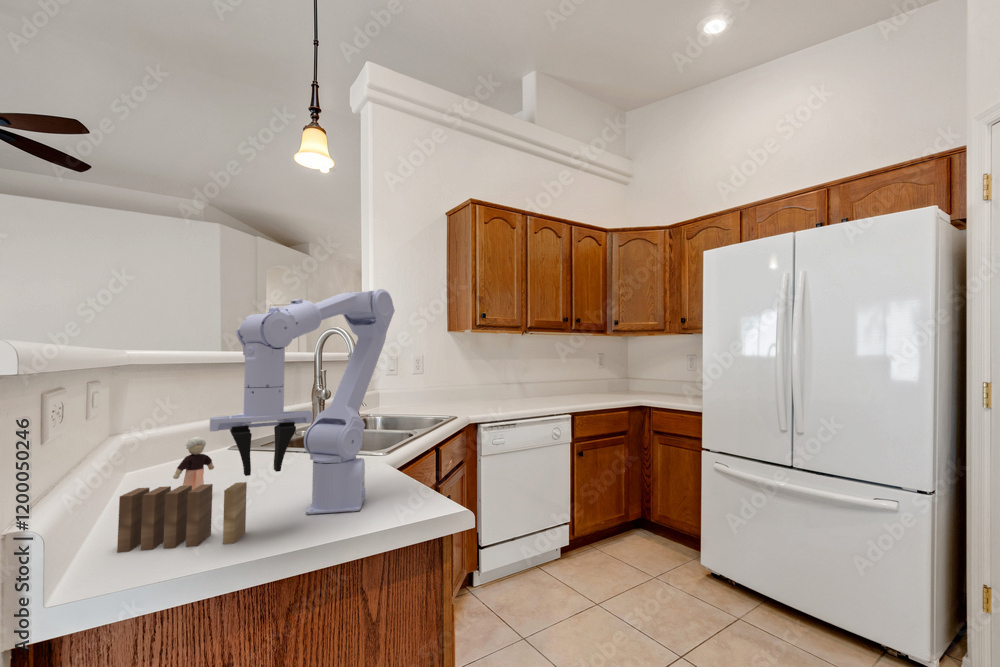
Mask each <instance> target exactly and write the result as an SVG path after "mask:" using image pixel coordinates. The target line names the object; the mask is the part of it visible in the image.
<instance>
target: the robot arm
mask: <svg viewBox="0 0 1000 667" xmlns="http://www.w3.org/2000/svg"><path fill="white" fill-rule="evenodd" d="M394 313H395V306H394V303H393V299H392V296H391V295H390V293H389V291H387V290H386V289H384V288H379V289H375V290H365V291H348V292H343V293H342V292H341V293H339V294H335V295H333V296H330V297H328V298H326V299H323V300H320V301H318V302H316V303H314V302H311V301H310V300H305V299H304V300H303V299H302V298H295V299H292V300H290V304H288V305H284V306H281V307H279V306H272V307H270V308H268V311H267V312H266V313H255V314H250V315H248V316H246V317H245V318H244V319H243V320H242V322H241V324H240V326H239V328H238V329H236V337H237V339H238V341H239V343H240V345H241V346H242V355H243V356H244V383H243V384H244V385H243V390H244V391H243V413H242V414H236V415H234V414H233V415H225V416H223V415H222V416H214V417H213V416H212V417H209V431H210V432H219V431H225V430H229V432H230V434H231V436H232V437H233V438H232V439H233V440H234V442H235V444H236V447H237V449H238V452H239V455H240V459H241V463H242V466H243V474H244V476H245V477H247V476H248V477H249V476H251V472H252V471H251V470H252V465H251V464H252V463H251V462H252V461H251V446H252V445H251V444H252V433H251V429H250V428H260V427H273V429H274V456H273V470H274V471H275V472H276V473H277V472H281V471H282V465H283V460H284V459H285V454H286V452H287V449H288V446H289V444H290V442H291V440H292V439H293V436H295V433H296V429H297V426H296V425H299V424H311V425H310V426H308V428H307V429H306V431H305V434H304V437H303V446H304V449H305V452H306V453H308V454H309V456H310V457H309V459H310V460H311V461H312V487H311V489H312V490H311V492H312V494H311V495H312V496H311V498H312V500H311V504H310V505H309V507H308V508H307V509H306V510H305V514H306V515H312V514H313V515H315V514H328V513H343V512H356V511H357V512H358V511H360V510H361V509H362V507H363V504H364V501H365V499H366V485H365V484H366V483H365V482H366V481H365V480H366V478H365V474H366V468H365V465H366V462H365V458H363V457H357V455H358V454H359V453H360V450H361V449H362V446H363V440H364V438H363V436H364V430H365V428H366V423H365V421H364V420H363V419H362V417H361V416H360V414H359V413H360V409H361V406H362V404H363V401H364V399H365V396H366V393H367V390H368V388H369V386H370V382H371V380H372V377H373V374H374V372H375V370H376V367H377V364H378V361H379V358H380V356H381V353H382V350H383V348H384V345H385V343H386V339H387V332H388V329H389V327H390V324H391V323H392V319H393V316H394ZM341 315H343V318H344V320H345V322H346V324H348V327H349V328H350V331H352V334H354V335H356V337H357V341H356V344H355V345H354V348H353V350H352V353H351V356H350V358H349V360H348V362H347V365H346V366H345V367H346V368H345V370H344V372H343V374H342V377H341V380H340V381H339V385H338V386H337V389H336V391H335V394H334V397H333V399H332V401H331V404H330V405H329V406H328V407H326V408H325V409H323V410H322V411H320V412H319V413H318V414H317V415H316V417H315V419H313V418H314V416H313V413H314V412H313V411H312V410H302V411H301V410H300V411H297V410H295V411H284V410H285V409H284V407H285V406H284V404H285V361H286V360H285V359H286V358H285V357H286V347H289V345H290V344H291V343H292V341H293V340H295V339H297V338H299V337H301V336H304V335H307V334H309V333H311V332H314V331H316V330H317V329H319V328H320V326H321V324H322V321H323V320H324V321H325V320H326V319H329V318H333V317H337V316H341ZM313 420H314V421H313Z"/></svg>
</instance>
